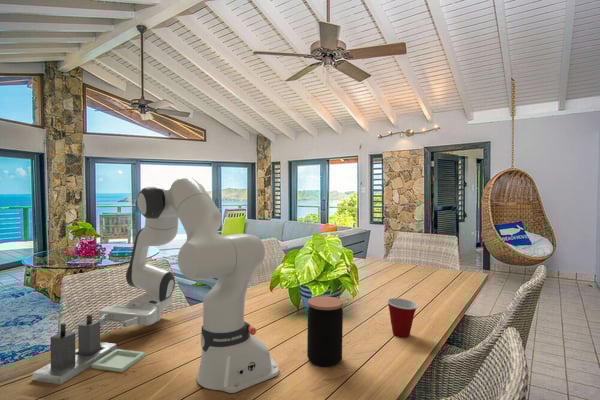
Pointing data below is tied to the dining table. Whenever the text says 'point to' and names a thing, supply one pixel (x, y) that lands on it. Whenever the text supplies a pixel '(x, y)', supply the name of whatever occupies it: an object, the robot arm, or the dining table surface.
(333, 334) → the coffee jar
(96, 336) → the plug
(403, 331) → the plastic cup
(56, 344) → the pillar on holed base
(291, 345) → the dining table surface
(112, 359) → the tray
